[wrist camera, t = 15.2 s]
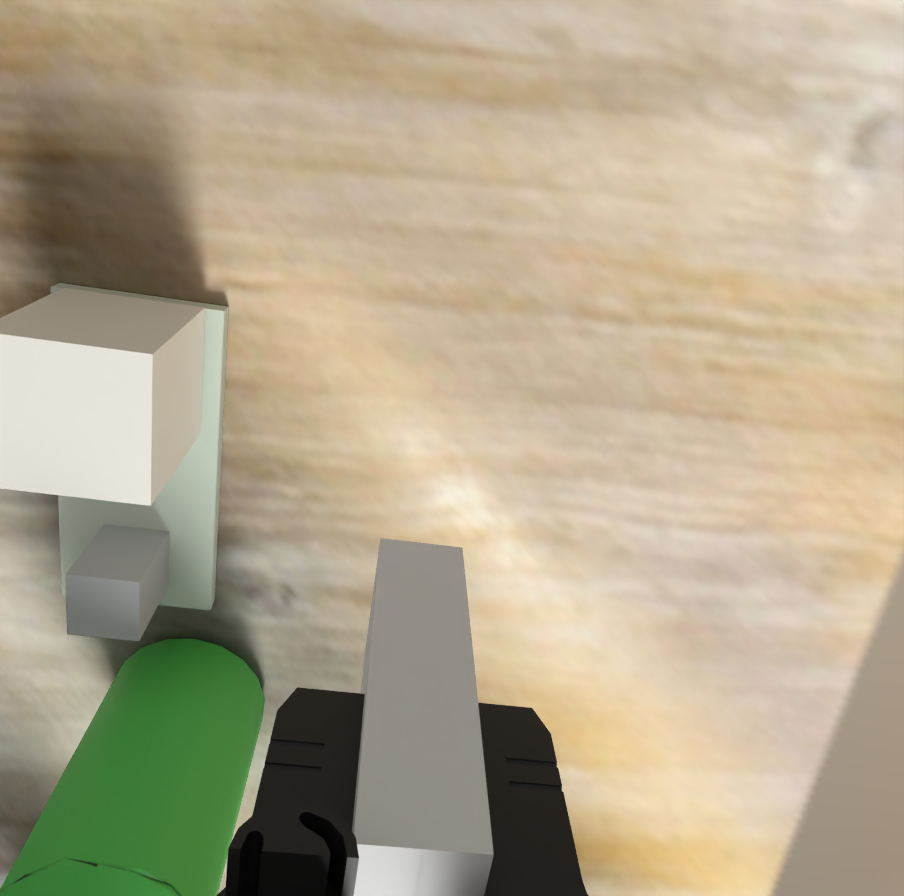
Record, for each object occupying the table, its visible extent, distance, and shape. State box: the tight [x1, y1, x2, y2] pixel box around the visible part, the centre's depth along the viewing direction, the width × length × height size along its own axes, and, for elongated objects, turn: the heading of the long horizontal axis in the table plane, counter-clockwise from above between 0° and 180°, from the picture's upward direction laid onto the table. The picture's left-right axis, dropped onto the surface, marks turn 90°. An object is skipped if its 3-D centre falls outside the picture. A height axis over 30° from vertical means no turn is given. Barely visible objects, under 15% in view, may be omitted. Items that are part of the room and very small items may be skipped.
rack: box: [51, 283, 229, 641], centre depth 39 cm, size 8×17×6 cm, turn 171°
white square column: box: [0, 288, 205, 506], centre depth 34 cm, size 6×6×8 cm
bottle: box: [0, 639, 265, 896], centre depth 36 cm, size 9×9×25 cm
